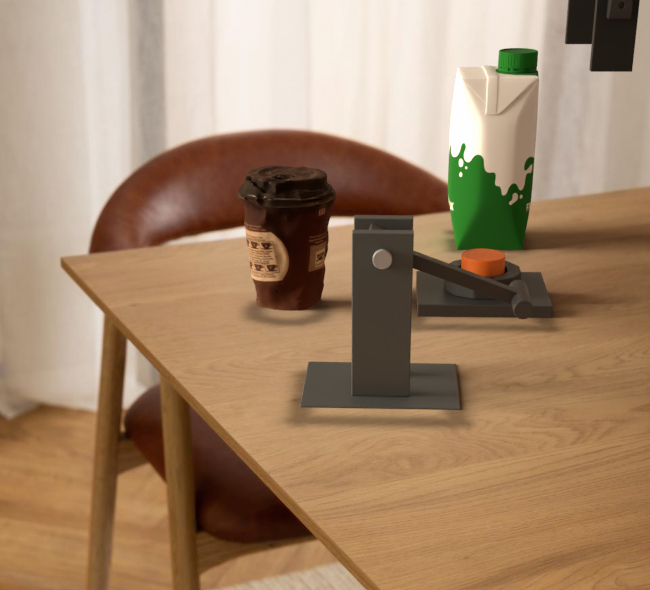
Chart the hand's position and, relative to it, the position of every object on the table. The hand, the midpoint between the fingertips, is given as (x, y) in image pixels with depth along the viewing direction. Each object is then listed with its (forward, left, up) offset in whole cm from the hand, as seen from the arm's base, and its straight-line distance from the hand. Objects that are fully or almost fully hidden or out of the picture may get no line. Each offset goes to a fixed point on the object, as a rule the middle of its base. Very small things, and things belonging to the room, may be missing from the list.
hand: (595, 57), depth 85 cm
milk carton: (+4, -39, -25) cm, 46 cm away
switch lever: (+11, +5, -16) cm, 20 cm away
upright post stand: (+15, +5, -25) cm, 29 cm away
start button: (+6, -16, -21) cm, 27 cm away
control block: (+6, -16, -25) cm, 30 cm away
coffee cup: (+24, -15, -25) cm, 38 cm away
